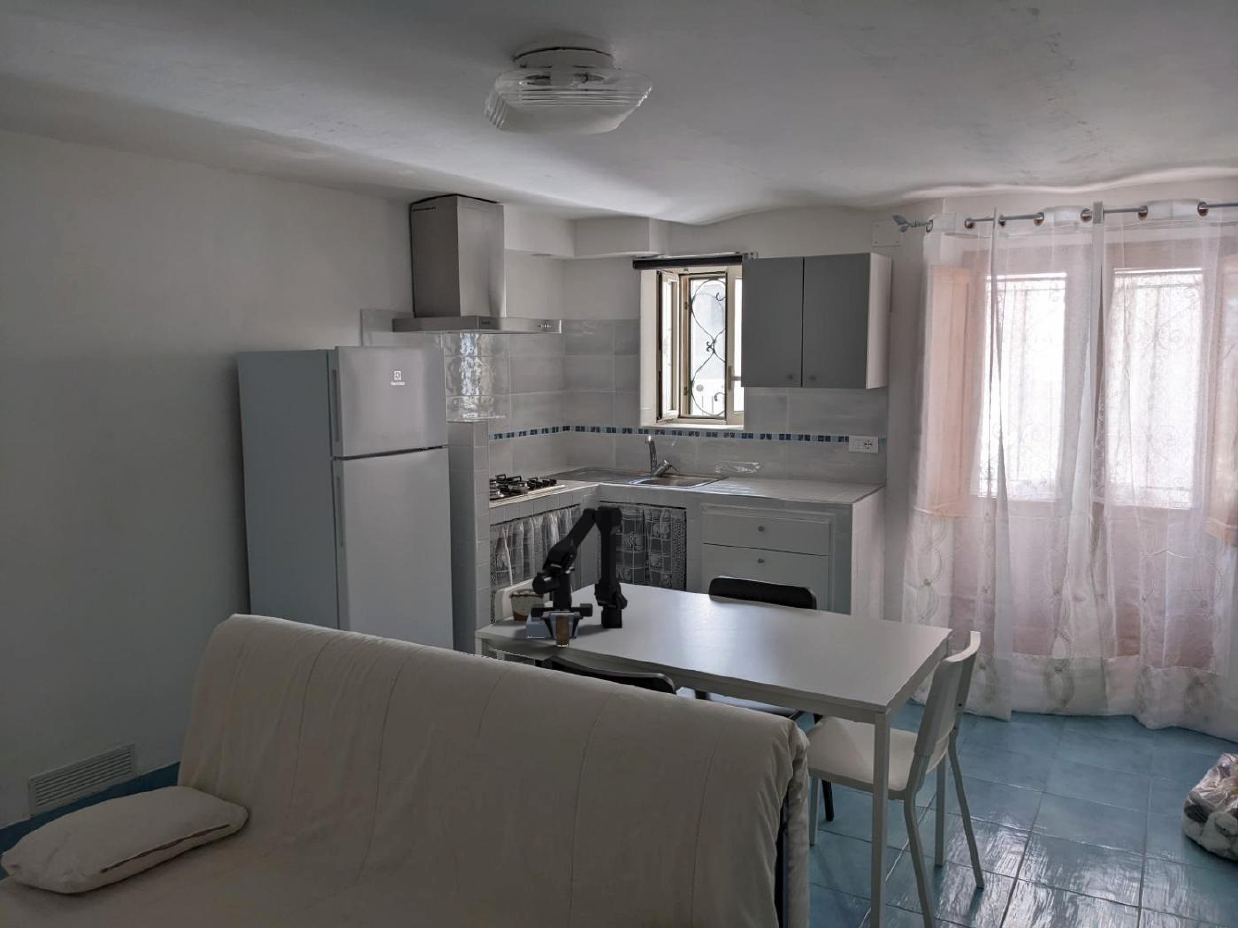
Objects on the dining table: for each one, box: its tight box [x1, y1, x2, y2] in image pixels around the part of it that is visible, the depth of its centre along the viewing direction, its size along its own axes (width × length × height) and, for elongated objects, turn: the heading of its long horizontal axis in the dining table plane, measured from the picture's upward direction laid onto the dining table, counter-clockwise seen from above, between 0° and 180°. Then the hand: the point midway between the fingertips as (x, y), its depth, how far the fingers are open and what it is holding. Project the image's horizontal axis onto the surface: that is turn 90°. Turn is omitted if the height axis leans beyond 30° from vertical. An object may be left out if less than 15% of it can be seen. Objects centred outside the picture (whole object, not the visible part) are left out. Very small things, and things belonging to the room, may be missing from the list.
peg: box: [555, 615, 570, 646], centre depth 291 cm, size 4×4×9 cm
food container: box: [508, 588, 546, 623], centre depth 318 cm, size 12×6×10 cm, turn 84°
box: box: [525, 613, 580, 638], centre depth 304 cm, size 16×11×4 cm
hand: (562, 637), depth 292 cm, fingers open, 6 cm apart
